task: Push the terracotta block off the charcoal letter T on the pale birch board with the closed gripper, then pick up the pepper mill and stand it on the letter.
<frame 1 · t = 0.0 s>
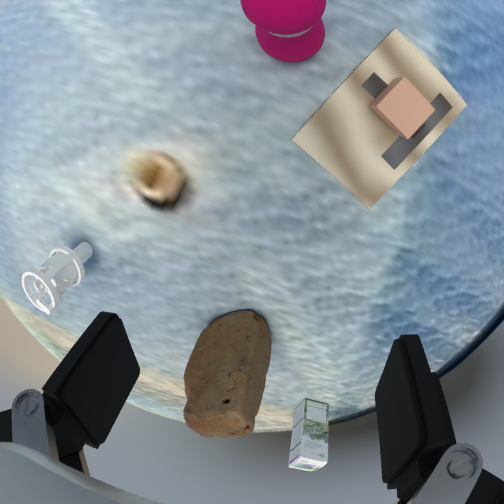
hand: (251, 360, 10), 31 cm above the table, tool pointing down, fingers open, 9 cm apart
syrup box: (311, 406, 59), on the table
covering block: (396, 106, 31), point 1 cm above the table, touching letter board
strainer: (87, 248, 49), on the table
block: (239, 326, 51), on the table
pepper mill: (291, 39, 30), on the table
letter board: (384, 117, 32), on the table
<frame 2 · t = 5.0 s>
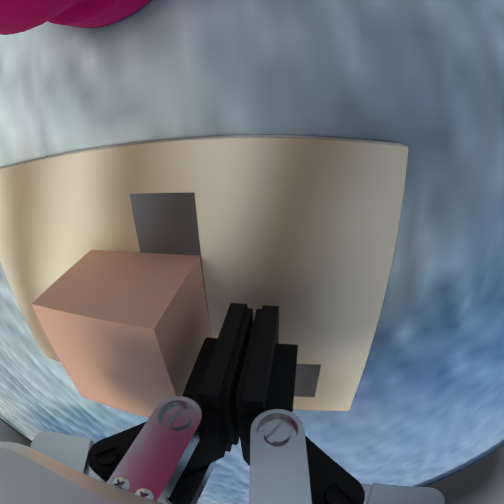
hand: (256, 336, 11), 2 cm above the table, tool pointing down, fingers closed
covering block: (152, 304, 13), point 1 cm above the table, touching gripper, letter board
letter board: (144, 290, 13), on the table
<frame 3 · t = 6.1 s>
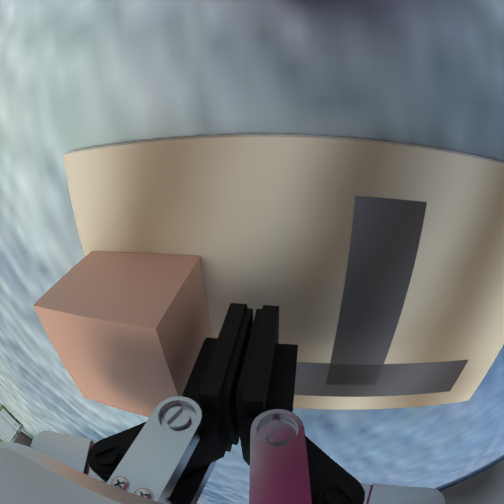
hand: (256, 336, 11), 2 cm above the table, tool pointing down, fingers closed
syrup box: (7, 412, 34), on the table
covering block: (153, 305, 13), point 1 cm above the table, touching gripper
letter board: (319, 302, 12), on the table
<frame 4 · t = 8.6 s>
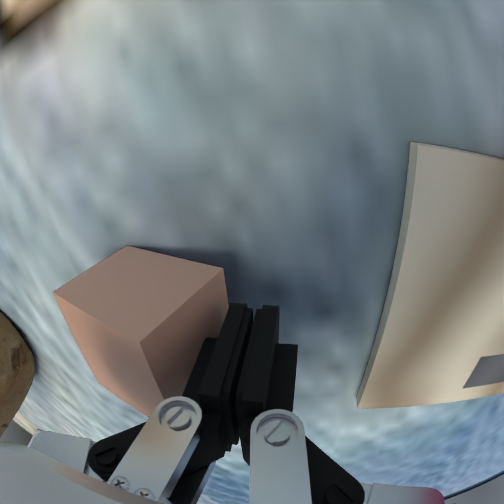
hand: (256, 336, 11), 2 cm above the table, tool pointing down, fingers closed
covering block: (180, 308, 13), point 1 cm above the table, tilted 19°, touching gripper
block: (0, 326, 19), on the table
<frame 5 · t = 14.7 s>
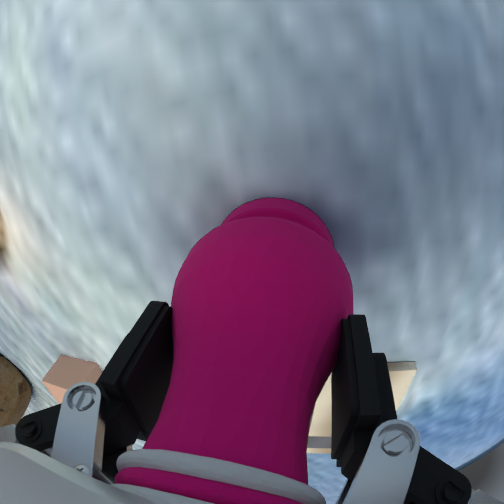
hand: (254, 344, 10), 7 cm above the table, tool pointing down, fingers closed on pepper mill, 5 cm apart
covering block: (89, 375, 26), on the table
block: (10, 367, 32), on the table
pepper mill: (274, 252, 16), on the table, touching gripper
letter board: (272, 410, 23), on the table
when the fingers open (9 cm above the table, at t = 20.7 s): pepper mill drops 1 cm, resting on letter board.
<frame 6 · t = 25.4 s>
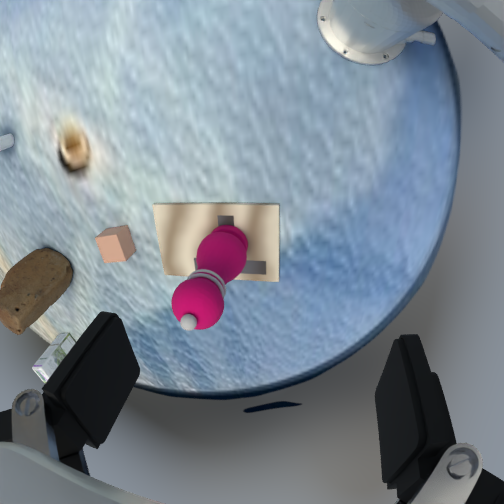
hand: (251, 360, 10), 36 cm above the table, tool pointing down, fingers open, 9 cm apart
syrup box: (70, 340, 72), on the table
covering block: (121, 239, 53), on the table
strainer: (10, 140, 46), on the table
block: (58, 262, 59), on the table
pepper mill: (228, 242, 49), point 1 cm above the table, touching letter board
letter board: (216, 241, 50), on the table
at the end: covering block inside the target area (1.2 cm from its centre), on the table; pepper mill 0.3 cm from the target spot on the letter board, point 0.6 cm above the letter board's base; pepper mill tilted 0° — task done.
